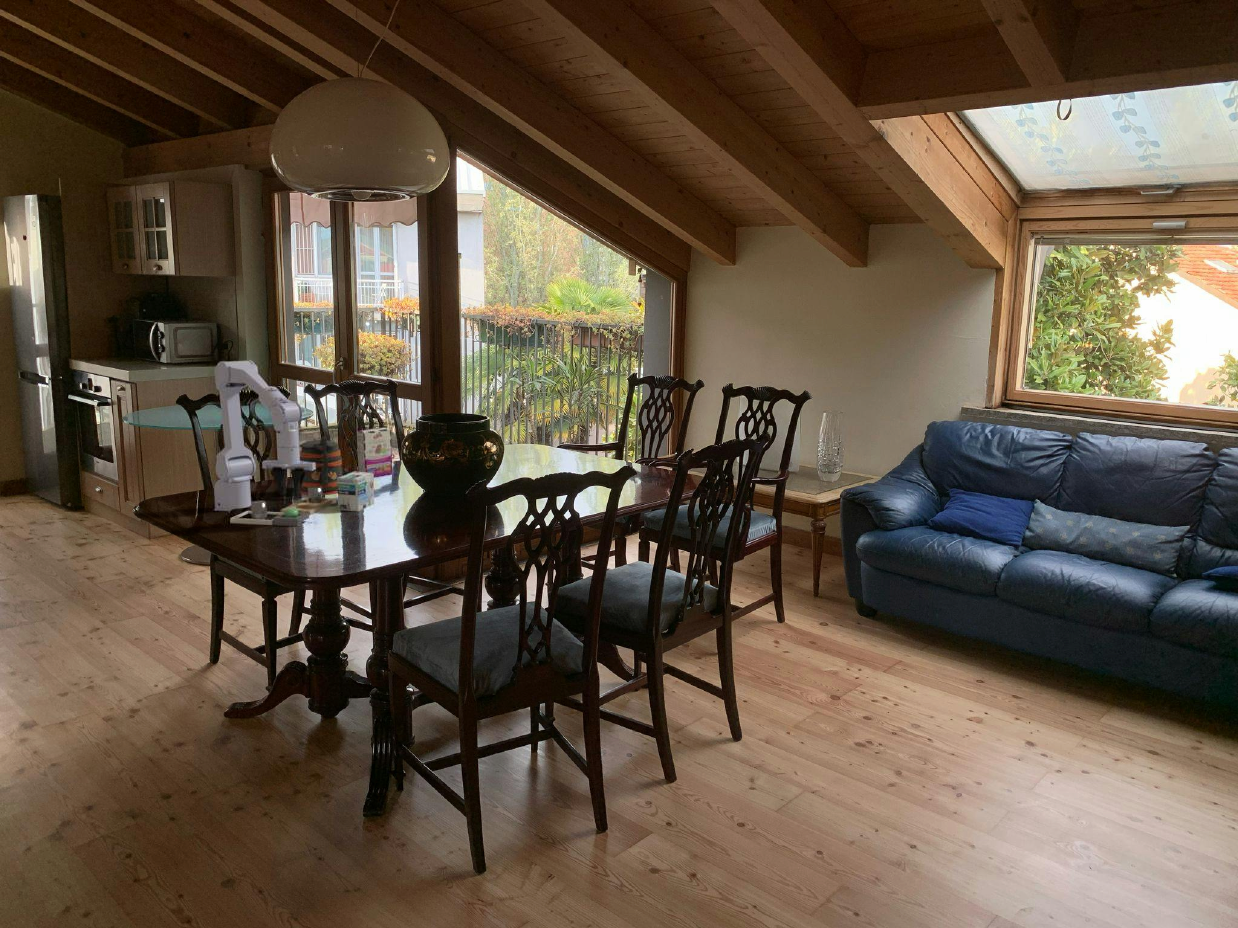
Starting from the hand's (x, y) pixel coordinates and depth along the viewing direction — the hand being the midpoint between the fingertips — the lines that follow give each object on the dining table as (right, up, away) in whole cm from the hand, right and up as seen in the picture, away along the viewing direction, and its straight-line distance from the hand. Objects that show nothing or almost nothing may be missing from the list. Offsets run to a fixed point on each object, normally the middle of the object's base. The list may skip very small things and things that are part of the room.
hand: (290, 494), depth 257 cm
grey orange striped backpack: (-3, -2, +38) cm, 38 cm away
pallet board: (0, -5, +16) cm, 17 cm away
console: (0, -8, +2) cm, 8 cm away
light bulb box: (+13, -6, +19) cm, 24 cm away
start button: (0, -6, +1) cm, 6 cm away
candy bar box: (+5, +4, +69) cm, 70 cm away
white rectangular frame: (-10, -8, +4) cm, 13 cm away
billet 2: (0, -3, +21) cm, 21 cm away
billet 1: (-10, -7, +4) cm, 13 cm away
